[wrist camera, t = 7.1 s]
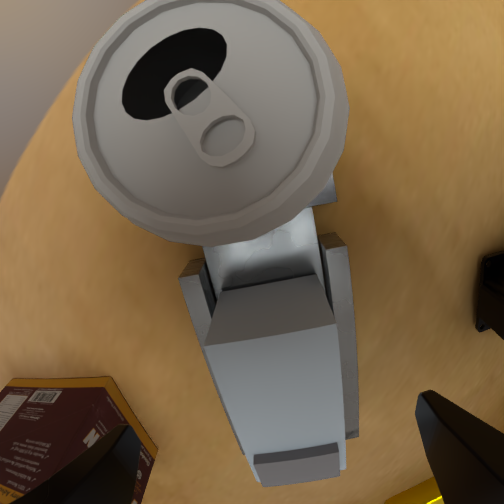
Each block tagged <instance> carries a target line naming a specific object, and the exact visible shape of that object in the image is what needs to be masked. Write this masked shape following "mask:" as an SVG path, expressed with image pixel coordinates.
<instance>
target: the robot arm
mask: <svg viewBox="0 0 504 504" xmlns="http://www.w3.org/2000/svg"><path fill="white" fill-rule="evenodd" d="M487 262H488V264H487ZM486 264H487V265H486ZM480 326H481V327H480ZM475 328H476V330H477V331H478V332H483V331H485V330H488V329H490V328H492V329H493V330H494V331H495V332H496V333H497V334H498V335H499V336H500V337H501V338H502V339H503V340H504V251H501V252H498V253H494V254H491V255H487V256H485V257H484V258H483V259H482V262H481V276H480V289H479V300H478V309H477V318H476V325H475ZM415 416H416V420H417V424H418V427H419V431H420V434H421V438H422V442H423V446H424V449H425V453H426V456H427V459H428V462H429V465H430V467H431V470H432V472H433V475H434V477H435V480H436V483H437V485H438V488H439V491H440V493H441V496H442V499H443V501H444V504H504V434H503V433H502V432H500V431H498V430H497V429H495V428H493V427H492V426H490V425H489V424H487V423H485V422H484V421H482V420H480V419H479V418H477V417H475V416H474V415H472V414H470V413H469V412H467V411H466V410H464V409H462V408H461V407H459V406H457V405H456V404H454V403H453V402H451V401H449V400H448V399H446V398H445V397H443V396H441V395H440V394H438V393H437V392H435V391H433V390H428V391H424V392H421V393H420V394H419V395H418V400H417V405H416V410H415ZM140 451H141V441H140V439H139V437H138V435H137V434H136V432H135V430H134V429H133V427H132V426H131V425H129V424H118V425H117V426H116V427H114V428H113V429H112V430H111V431H109V432H108V433H107V434H106V435H104V436H103V437H102V438H101V439H99V440H98V441H97V442H95V443H94V444H93V445H92V446H90V447H89V448H88V449H86V450H85V451H84V452H83V453H81V454H80V455H79V456H77V457H76V458H75V459H74V460H72V461H71V462H70V463H68V464H67V465H66V466H64V467H63V468H62V469H60V470H59V471H58V472H56V473H55V474H54V475H52V476H51V477H50V478H49V479H47V480H45V481H44V482H43V483H41V484H40V485H38V486H37V487H36V488H34V489H33V490H31V491H30V492H28V493H26V494H25V495H23V496H21V497H20V498H18V499H16V500H14V501H12V502H11V503H9V504H131V502H132V498H133V494H134V490H135V486H136V480H137V474H138V466H139V459H140Z"/></svg>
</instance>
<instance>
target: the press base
mask: <svg viewBox="0 0 504 504" xmlns="http://www.w3.org/2000/svg"><path fill="white" fill-rule="evenodd" d="M332 202H337V197H336V191H335V185H334V179H333V174H331V176H330V178H329V180H328V182H327V184H326V186H325V188H324V189H323V190H322V191H321V192H320V193H319V194H318V195H317V196H316V197H315V198H314V199H313V200H312V201H311V202H310V203H309V204H308V205H307V206H306V207H305V208H304V209H303V210H302V211H301V212H300V213H299V214H298V215H297V216H296V217H295V218H294V219H293V220H292V221H290V222H288V223H286V224H284V225H282V226H280V227H278V228H276V229H274V230H272V231H270V232H268V233H266V234H264V235H262V236H260V237H258V238H256V239H254V240H250V241H244V242H238V243H232V244H226V245H220V246H214V247H206V246H202V247H203V251H204V254H205V258H202V259H197V260H192V261H189V263H188V264H187V266H186V267H185V269H184V270H183V272H182V273H181V275H180V276H179V278H178V279H179V283H180V286H181V289H182V292H183V295H184V298H185V302H186V305H187V308H188V311H189V314H190V317H191V320H192V323H193V326H194V329H195V332H196V335H197V338H198V340H199V343H200V346H201V349H202V352H203V355H204V357H205V360H206V363H207V366H208V369H209V371H210V374H211V377H212V379H213V382H214V385H215V387H216V390H217V392H218V395H219V398H220V400H221V403H222V405H223V408H224V410H225V413H226V415H227V418H228V420H229V423H230V425H231V428H232V430H233V433H234V435H235V437H236V440H237V442H238V444H239V447H240V449H241V451H242V454H243V455H245V453H244V450H243V448H242V446H241V443H240V441H239V438H238V436H237V434H236V431H235V429H234V426H233V424H232V421H231V419H230V416H229V414H228V411H227V408H226V406H225V403H224V401H223V398H222V395H221V393H220V390H219V387H218V385H217V382H216V379H215V377H214V374H213V371H212V368H211V366H210V363H209V360H208V357H207V354H206V352H205V349H204V343H205V340H206V337H207V333H208V330H209V327H210V324H211V320H212V317H213V314H214V310H215V307H216V304H217V301H218V297H219V294H220V292H224V291H229V290H235V289H240V288H246V287H251V286H257V285H262V284H268V283H273V282H278V281H283V280H289V279H294V278H299V277H304V276H309V275H314V274H317V276H318V278H319V281H320V283H321V286H322V288H323V290H324V293H325V295H326V298H327V300H328V303H329V305H330V308H331V310H332V313H333V315H334V318H335V320H336V323H337V331H338V341H339V351H340V363H341V375H342V388H343V404H344V422H345V440H347V439H351V438H355V437H359V397H358V366H357V347H356V331H355V318H354V306H353V295H352V285H351V275H350V266H349V258H348V250H347V245H346V244H345V243H344V242H343V240H342V239H341V238H340V237H339V236H338V235H337V234H336V232H334V233H329V234H324V235H319V236H317V234H316V228H315V222H314V216H313V210H312V207H311V206H316V205H321V204H326V203H332Z"/></svg>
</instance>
